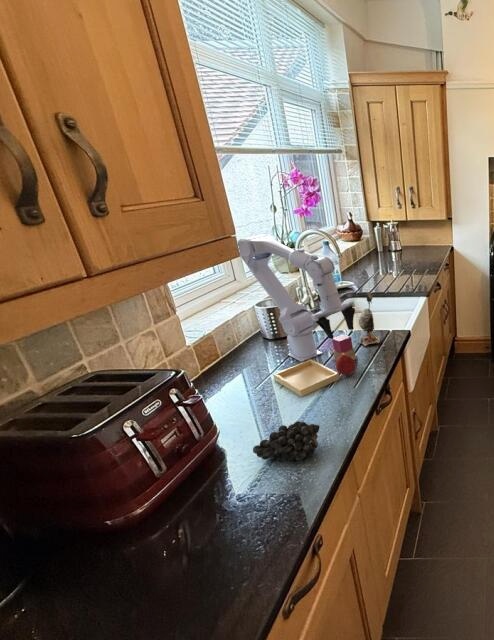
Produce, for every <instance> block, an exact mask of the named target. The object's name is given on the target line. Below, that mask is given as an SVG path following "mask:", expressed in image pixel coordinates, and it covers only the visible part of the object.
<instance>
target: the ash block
mask: <svg viewBox="0 0 494 640" xmlns="http://www.w3.org/2000/svg"><path fill="white" fill-rule="evenodd" d="M332 352H333V358H334V361H335V362H337V360H338V359H339V358H340V357H341V356H342V353H339V352H337V351H335V350H334V349H333V350H332ZM344 354H345V355H348V356H350V357H351V358H352V359H353V360H354V361H355V360H357V358H356V352H355V348H353V349H351V350H349V351H346V352H344Z"/></svg>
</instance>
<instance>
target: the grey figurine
mask: <svg viewBox="0 0 494 640" xmlns="http://www.w3.org/2000/svg"><path fill="white" fill-rule="evenodd" d="M365 296H366V297H365V298H366V302H368V308H364V309H363V310H362V312H361V314H360V315H359V318H358V325H359V327H360V329H361V330H363V332H366V335H363V336H362V337H361V338H359V339H358V343H359V344H363V345H364V346H365V347H366V346H368V345H370V344H371V345H372V344H380V343H381V338H380V336H376V335H373V333H374V330H375V323H374V317H373V316H374V315H373V312H372V310H371V309H370V308H371V304H373V302H372V300H373V294H371V293H370V292H369V291H367V292H366V293H365Z"/></svg>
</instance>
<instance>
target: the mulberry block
mask: <svg viewBox="0 0 494 640" xmlns="http://www.w3.org/2000/svg"><path fill="white" fill-rule="evenodd" d="M331 341H332V346H333V350H335V351H337V352H339V353H344V352H346V351H349V350H351V349H354V347H353V341H352V336H350V335H347V334H344V333H342V334H340V335H337V336H333V338H332V339H331Z"/></svg>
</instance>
